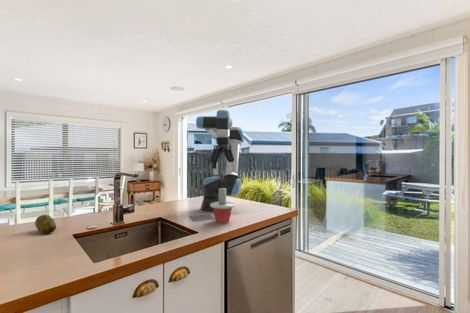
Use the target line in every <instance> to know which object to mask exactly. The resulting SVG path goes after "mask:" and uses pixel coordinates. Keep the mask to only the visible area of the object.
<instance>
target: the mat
mask: <svg viewBox="0 0 470 313" xmlns="http://www.w3.org/2000/svg"><path fill="white" fill-rule="evenodd" d="M188 217H189V219H190V220H191V222H203V221H204V222H205V221H213V220H214V221H216V220H215V216H213V215H212V214H210V213H205V214H195V215H188Z"/></svg>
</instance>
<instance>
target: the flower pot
mask: <svg viewBox="0 0 470 313" xmlns="http://www.w3.org/2000/svg"><path fill="white" fill-rule="evenodd" d="M232 208H233V207H232ZM232 208H227V209H217V208H213V209H214V212H213V215H214V218H215V220H214V221H215V223H216V224H219V225H220V224H221V225H222V224H228V223H230V219H231V214H232V211H233V210H232Z"/></svg>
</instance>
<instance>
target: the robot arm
mask: <svg viewBox="0 0 470 313" xmlns="http://www.w3.org/2000/svg"><path fill="white" fill-rule="evenodd" d="M195 121H196V122H195V126H196V128H197V129H201V130H202V129H204V130H205V131H206V132H207V133H208V134H209V136H210V137H211V138H212V139H213V140H215V142H216V145H215V144H214V145H213V150H212V152H211V153H212V154H211V156H210V160H209V162H210V163H212V169H213V170H212V173H213V175H216V176H211V177H210V176H209V177H206V178H204V179H203V184H202V186H203V188H202V189H203V191H202V194H203V195H202V196H203V197H202V198H203V199H202V202H201V205H200V210H201V211H202V212H209V213H210V212H213V213H214V209H213V208H212V207H210V204H211V203H213V202H219V188H226V196H232V197H233V196H238V195H240V193H241V189H242V179H241V178H240V176H239V173H238V172H239V160H240V159H239V157H240V156H239V155H240V146H241V145H242V143H244V142H245V141H244V140H245V139H244V131H243V128H242V127H241V126H233V120H232V118H231V117H230V111H229V110H226V109H218V110H217V111H216V116H212V115H211V116H209V115H208V116H203V115H201V116H197V117H196V120H195ZM222 154H224V155H225V158H226V168H225V174H224V175H223V178H221V177H220V176H217V175H218V174H219V171H218V170H219V163H218V161H219V159H220V157H221V155H222Z"/></svg>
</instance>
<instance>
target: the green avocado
mask: <svg viewBox="0 0 470 313" xmlns="http://www.w3.org/2000/svg"><path fill="white" fill-rule="evenodd" d="M34 225H35V228H36V229H37V231H38V232H39V233H40V232H41V233H40V234H45V233H46V234H51V233H50V232H52V233H53V232H55V230H56V229H57V225H56V221H55V219H54V218H53V217H51V216H50V215H48V214H42V215H39V216H38V217H37V218H36V219H35V222H34Z"/></svg>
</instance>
